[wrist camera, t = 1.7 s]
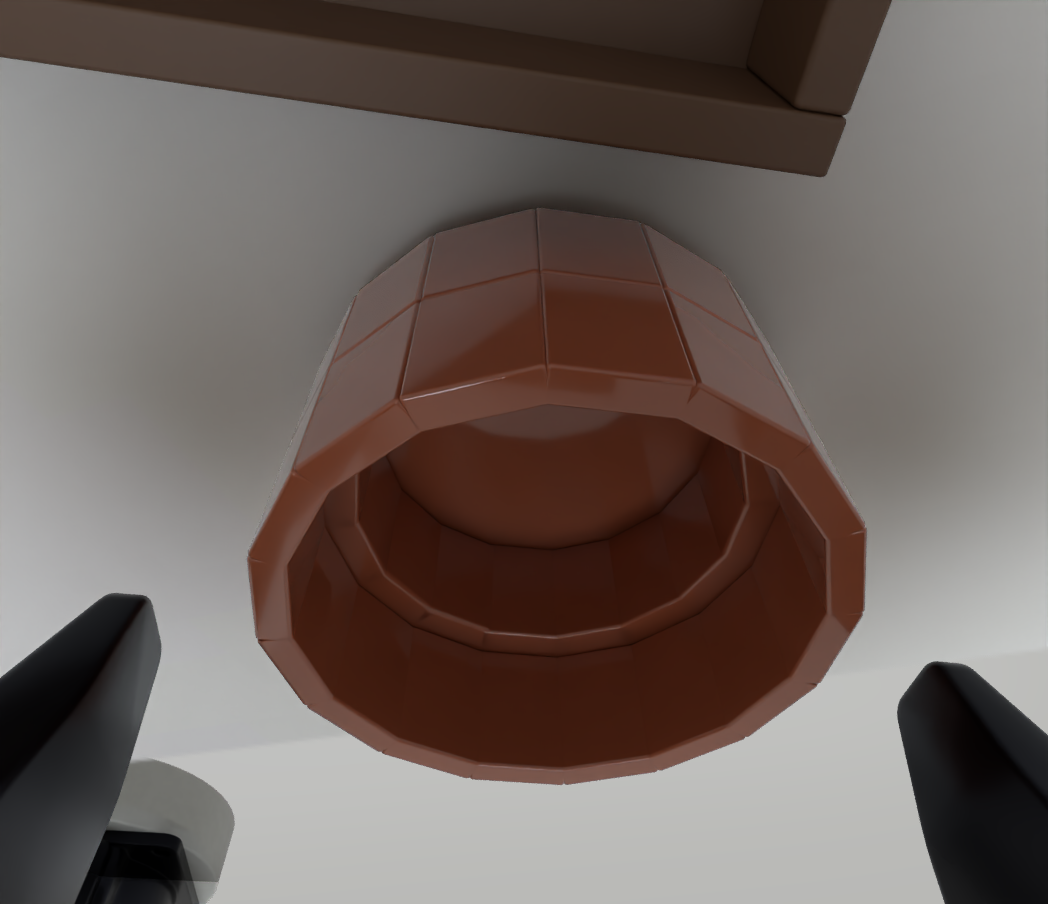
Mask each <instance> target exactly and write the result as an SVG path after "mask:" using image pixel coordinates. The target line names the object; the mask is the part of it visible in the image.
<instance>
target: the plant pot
mask: <svg viewBox="0 0 1048 904" xmlns="http://www.w3.org/2000/svg"><path fill="white" fill-rule="evenodd" d="M866 542H867V528H866V527H865V521H864V520H863V518H862V516H861V514H860V512H859V510H858V508H857V507H856V505H855V503H854V501H853V499H852V497H851V495H850V494H849V492H848V490H847V488H846V486H845V484H844V482H843V480H842V479H841V477H840V475H839V473H838V471H837V469H836V467H835V466H834V464H833V462H832V460H831V458H830V456H829V454H828V453H827V451H826V449H825V447H824V445H823V443H822V441H821V439H820V438H819V436H818V434H817V432H816V430H815V428H814V426H813V425H812V423H811V421H810V419H809V418H808V416H807V414H806V412H805V410H804V408H803V406H802V404H801V402H800V400H799V398H798V397H797V395H796V393H795V391H794V389H793V387H792V385H791V384H790V382H789V380H788V378H787V376H786V374H785V372H784V371H783V369H782V367H781V365H780V363H779V361H778V359H777V358H776V356H775V354H774V352H773V350H772V348H771V346H770V344H769V343H768V341H767V339H766V338H765V336H764V334H763V333H762V331H761V330H760V328H759V326H758V325H757V323H756V322H755V320H754V318H753V317H752V315H751V314H750V312H749V311H748V309H747V307H746V306H745V304H744V303H743V301H742V299H741V298H740V296H739V295H738V293H737V291H736V290H735V288H734V287H733V285H732V283H731V282H730V280H729V279H728V277H727V276H725V275H724V274H723V272H722V271H721V270H720V269H718V268H717V267H715V266H713V265H712V264H710V263H708V262H707V261H705V260H704V259H702V258H700V257H699V256H697V255H695V254H694V253H692V252H690V251H689V250H687V249H685V248H684V247H682V246H681V245H679V244H677V243H676V242H674V241H672V240H671V239H669V238H667V237H666V236H664V235H663V234H661V233H659V232H658V231H656V230H654V229H653V228H651V227H649V226H648V225H646V224H643V223H641V224H640V222H639V221H634V220H627V219H620V218H612V217H605V216H598V215H591V214H583V213H576V212H569V211H562V210H554V209H547V208H540V207H539V208H537V209H536V210H535V209H528V210H524V211H520V212H516V213H512V214H508V215H504V216H501V217H497V218H493V219H489V220H485V221H481V222H477V223H473V224H469V225H466V226H462V227H458V228H454V229H450V230H446V231H442V232H438V233H437V234H435V235H434V236H430V237H428V238H427V239H425V240H424V241H423V242H421V243H420V244H419V245H417V246H416V247H415V248H414V249H412V250H411V251H410V252H408V253H407V254H406V255H405V256H403V257H402V258H401V259H399V260H398V261H397V262H395V263H394V264H393V265H392V266H390V267H389V268H388V269H386V270H385V271H384V272H382V273H381V274H380V275H379V276H377V277H376V278H375V279H373V280H372V281H371V282H370V283H368V284H367V285H366V286H364V287H363V288H362V289H360V290H359V292H358V295H357V296H355V297H354V298H353V300H352V302H351V304H350V306H349V308H348V310H347V312H346V314H345V316H344V318H343V320H342V322H341V324H340V326H339V328H338V330H337V332H336V334H335V336H334V338H333V340H332V342H331V344H330V346H329V348H328V350H327V352H326V354H325V356H324V359H323V361H322V363H321V365H320V367H319V370H318V372H317V375H316V377H315V380H314V383H313V385H312V388H311V390H310V393H309V396H308V398H307V401H306V403H305V406H304V408H303V411H302V414H301V416H300V419H299V421H298V424H297V427H296V429H295V432H294V434H293V437H292V441H291V443H290V445H289V447H288V450H287V452H286V455H285V457H284V460H283V462H282V465H281V468H280V470H279V473H278V475H277V478H276V481H275V483H274V486H273V488H272V491H271V493H270V496H269V499H268V501H267V504H266V506H265V509H264V512H263V514H262V517H261V519H260V522H259V524H258V527H257V530H256V532H255V535H254V537H253V540H252V543H251V545H250V548H249V550H248V556H247V565H248V574H249V582H250V591H251V600H252V609H253V618H254V626H255V635H256V638H257V639H258V643H259V644H260V646H261V647H262V648H263V650H264V651H265V652H266V654H267V655H268V657H269V658H270V659H271V661H272V662H273V663H274V665H275V666H276V667H277V669H278V670H279V671H280V673H281V674H282V675H283V677H284V678H285V679H286V681H287V682H288V683H289V685H290V686H291V688H292V689H293V690H294V692H295V693H296V694H297V696H298V697H299V698H300V700H301V701H302V702H303V704H305V705H307V707H308V708H309V709H310V710H312V711H314V712H315V713H317V714H318V715H320V716H322V717H323V718H325V719H326V720H328V721H330V722H331V723H333V724H335V725H336V726H338V727H339V728H341V729H343V730H344V731H346V732H347V733H349V734H351V735H352V736H354V737H355V738H357V739H359V740H360V741H362V742H364V743H365V744H367V745H368V746H370V747H371V748H373V749H375V750H377V751H379V752H382V753H383V754H385V755H389V756H392V757H396V758H399V759H402V760H406V761H409V762H413V763H416V764H419V765H423V766H426V767H430V768H433V769H437V770H440V771H443V772H447V773H450V774H453V775H457V776H460V777H464V778H471V779H475V780H492V781H507V782H523V783H538V784H554V785H562V784H567V785H568V784H576V783H583V782H590V781H597V780H603V779H610V778H617V777H624V776H631V775H638V774H645V773H652V772H656V771H657V770H664V769H667V768H669V767H672V766H675V765H677V764H680V763H683V762H685V761H688V760H690V759H693V758H696V757H698V756H701V755H704V754H706V753H709V752H711V751H714V750H717V749H719V748H722V747H725V746H727V745H730V744H732V743H735V742H738V741H740V740H743V739H744V738H745V737H748V736H750V735H751V734H753V733H754V732H755V731H757V730H758V729H760V728H761V727H762V726H764V725H765V724H766V723H768V722H769V721H771V720H772V719H773V718H775V717H776V716H777V715H779V714H780V713H781V712H783V711H784V710H785V709H787V708H788V707H790V706H791V705H792V704H794V703H795V702H796V701H798V700H799V699H800V698H802V697H803V696H805V695H806V694H807V693H809V692H810V691H811V690H813V689H814V688H815V687H816V686H817V684H818V683H820V682H821V681H822V679H823V678H824V676H825V675H826V673H827V671H828V670H829V668H830V667H831V665H832V664H833V662H834V660H835V659H836V657H837V656H838V654H839V652H840V651H841V649H842V648H843V646H844V644H845V643H846V641H847V640H848V638H849V636H850V635H851V633H852V632H853V630H854V629H855V627H856V625H857V624H858V622H859V621H860V619H861V617H862V615H863V611H864V608H865V576H866Z"/></svg>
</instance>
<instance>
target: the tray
mask: <svg viewBox="0 0 1048 904" xmlns="http://www.w3.org/2000/svg"><path fill="white" fill-rule="evenodd" d="M891 1H892V0H0V57H4V58H10V59H17V60H24V61H31V62H38V63H45V64H51V65H58V66H65V67H72V68H79V69H86V70H92V71H99V72H106V73H113V74H120V75H126V76H133V77H140V78H147V79H154V80H161V81H167V82H174V83H181V84H188V85H195V86H201V87H208V88H215V89H222V90H229V91H236V92H242V93H249V94H256V95H263V96H270V97H277V98H283V99H290V100H297V101H304V102H311V103H317V104H324V105H331V106H338V107H345V108H352V109H358V110H365V111H372V112H379V113H386V114H392V115H399V116H406V117H413V118H420V119H427V120H433V121H440V122H447V123H454V124H461V125H468V126H474V127H481V128H488V129H495V130H502V131H508V132H515V133H522V134H529V135H536V136H543V137H549V138H556V139H563V140H570V141H577V142H583V143H590V144H597V145H604V146H611V147H618V148H624V149H631V150H638V151H645V152H652V153H659V154H665V155H672V156H679V157H686V158H693V159H699V160H706V161H713V162H720V163H727V164H734V165H740V166H747V167H754V168H761V169H768V170H774V171H781V172H788V173H795V174H802V175H809V176H815V177H824V176H825V175H826V174H827V172H828V169H829V167H830V164H831V161H832V159H833V156H834V153H835V151H836V148H837V145H838V143H839V140H840V138H841V135H842V132H843V130H844V127H845V124H846V119H845V118H844V117H843V116H842V115H846V114H848V112H849V111H850V109H851V106H852V104H853V101H854V99H855V96H856V93H857V91H858V88H859V85H860V83H861V80H862V77H863V75H864V72H865V70H866V67H867V64H868V62H869V59H870V56H871V54H872V51H873V48H874V46H875V43H876V41H877V38H878V35H879V33H880V30H881V27H882V25H883V22H884V19H885V17H886V14H887V12H888V9H889V6H890V4H891Z"/></svg>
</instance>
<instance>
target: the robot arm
mask: <svg viewBox="0 0 1048 904" xmlns="http://www.w3.org/2000/svg"><path fill="white" fill-rule="evenodd" d="M160 657H161V640H160V635H159V631H158V627H157V622H156V618H155V614H154V609H153V605H152V603H151V600H150V599H149V598H148V597H147V596H143V595H135V594H123V593H111V594H108V595H106V596H104V597H102V598H101V599H99V600H98V601H97V602H95V603H94V604H93V605H92V606H90V607H89V608H88V609H87V610H85V611H84V612H83V613H82V614H80V615H79V616H78V617H77V618H75V619H74V620H73V621H71V622H70V623H69V624H68V625H66V626H65V627H64V628H63V629H61V630H60V631H59V632H58V633H56V634H55V635H54V636H53V637H51V638H50V639H49V640H47V641H46V642H45V643H44V644H42V645H41V646H40V647H39V648H37V649H36V650H35V651H34V652H32V653H31V654H30V655H29V656H27V657H26V658H25V659H23V660H22V661H21V662H20V663H18V664H17V665H16V666H15V667H13V668H12V669H11V670H10V671H8V672H7V673H6V674H5V675H3V676H2V677H1V678H0V904H199V901H198V897H197V894H196V890H195V886H194V883H193V879H192V875H191V872H190V868H189V865H188V861H187V857H186V854H185V850H184V847H183V843H182V841H181V839H180V838H179V837H177V836H175V835H172V834H167V833H155V832H137V831H119V830H106V828H107V825H108V823H109V821H110V818H111V816H112V813H113V811H114V808H115V805H116V803H117V800H118V798H119V795H120V792H121V789H122V785H123V782H124V779H125V776H126V773H127V770H128V766H129V763H130V760H131V756H132V753H133V750H134V746H135V743H136V740H137V736H138V733H139V730H140V726H141V723H142V720H143V716H144V713H145V710H146V706H147V703H148V700H149V696H150V693H151V690H152V686H153V683H154V680H155V676H156V673H157V670H158V666H159V662H160ZM897 715H898V723H899V728H900V732H901V737H902V741H903V746H904V750H905V755H906V759H907V764H908V768H909V773H910V777H911V782H912V786H913V791H914V795H915V800H916V804H917V809H918V813H919V818H920V822H921V826H922V830H923V834H924V838H925V842H926V846H927V849H928V853H929V856H930V859H931V863H932V866H933V869H934V872H935V875H936V878H937V881H938V884H939V887H940V890H941V893H942V896H943V900H944V902H945V904H1048V735H1047V734H1046V733H1045V732H1044V731H1043V730H1041V729H1040V728H1039V727H1038V726H1037V725H1036V724H1034V723H1033V722H1032V721H1031V720H1030V719H1029V718H1027V717H1026V716H1025V715H1024V714H1023V713H1022V712H1021V711H1020V710H1019V709H1017V708H1016V707H1015V706H1014V705H1013V704H1012V703H1011V702H1009V701H1008V700H1007V699H1006V698H1005V697H1004V696H1003V695H1001V694H1000V693H999V692H998V691H997V690H996V689H995V688H993V687H992V686H991V685H990V684H989V683H988V682H987V681H986V680H984V679H983V678H982V677H981V676H980V675H979V674H977V673H976V672H975V671H974V670H973V669H971V668H970V667H968V666H966V665H964V664H959V663H950V662H938V661H936V662H931V663H929V664H927V665H926V666H925V667H924V668H923V669H922V671H921V672H920V673H919V675H918V676H917V677H916V679H915V680H914V681H913V683H912V684H911V685H910V687H909V688H908V689H907V691H906V692H905V693H904V695H903V696H902V698H901V699H900V701H899V704H898V711H897Z"/></svg>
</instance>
